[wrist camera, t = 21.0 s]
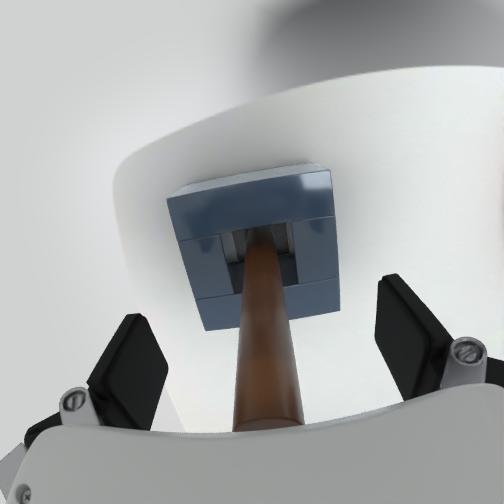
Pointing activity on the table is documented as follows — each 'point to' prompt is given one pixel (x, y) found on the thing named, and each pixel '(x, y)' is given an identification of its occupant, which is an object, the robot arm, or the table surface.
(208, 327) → the holder
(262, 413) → the stick
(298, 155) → the table surface
